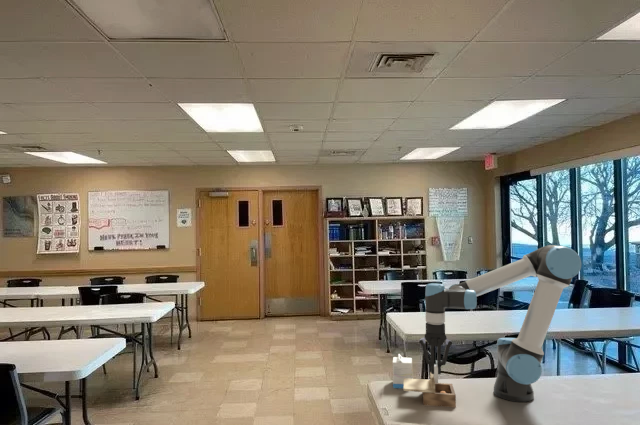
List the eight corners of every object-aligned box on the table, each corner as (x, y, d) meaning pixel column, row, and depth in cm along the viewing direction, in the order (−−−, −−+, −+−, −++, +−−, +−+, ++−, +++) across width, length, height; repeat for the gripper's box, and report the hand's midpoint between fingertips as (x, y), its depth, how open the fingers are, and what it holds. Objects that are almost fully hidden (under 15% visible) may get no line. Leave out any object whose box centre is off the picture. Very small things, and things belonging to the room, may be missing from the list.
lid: (433, 381, 175) (433, 372, 176) (435, 392, 164) (435, 382, 164) (403, 380, 178) (403, 370, 178) (403, 390, 166) (403, 380, 166)
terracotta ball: (446, 397, 171) (446, 390, 171) (447, 400, 168) (447, 392, 168) (439, 397, 172) (439, 389, 172) (439, 400, 169) (439, 392, 169)
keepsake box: (452, 397, 174) (452, 383, 174) (455, 409, 162) (455, 395, 162) (422, 395, 176) (422, 381, 176) (423, 407, 164) (423, 392, 164)
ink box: (412, 391, 180) (412, 359, 181) (392, 389, 182) (392, 358, 183) (412, 383, 189) (412, 353, 189) (393, 382, 191) (393, 352, 191)
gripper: (451, 321, 173) (451, 379, 172) (418, 319, 175) (418, 377, 174) (453, 325, 165) (454, 386, 164) (418, 323, 168) (419, 384, 167)
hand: (435, 382), depth 169 cm, fingers closed
